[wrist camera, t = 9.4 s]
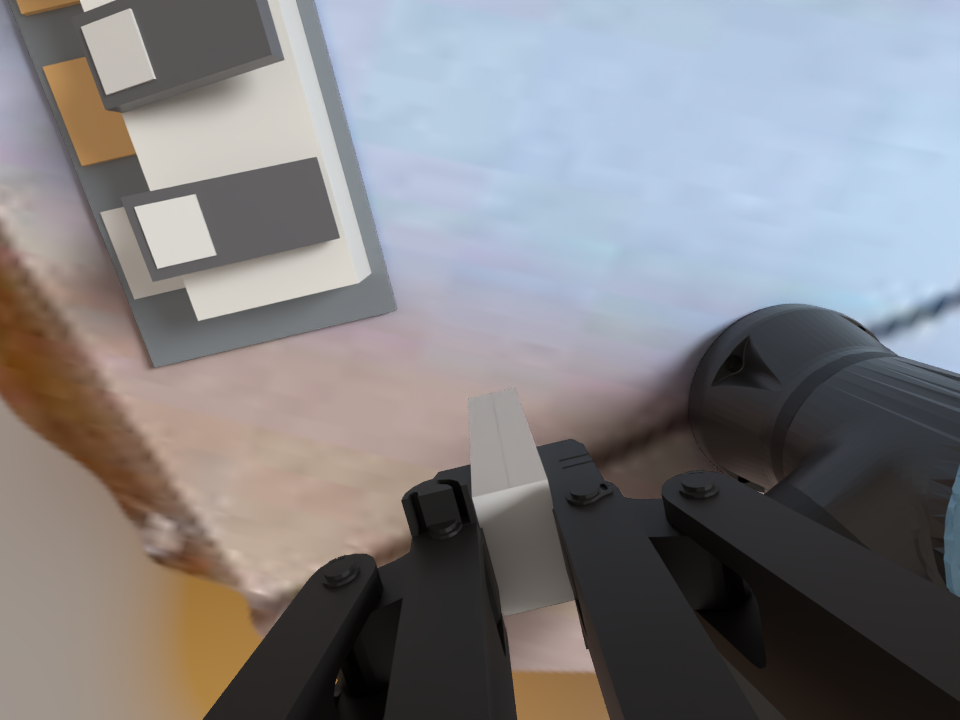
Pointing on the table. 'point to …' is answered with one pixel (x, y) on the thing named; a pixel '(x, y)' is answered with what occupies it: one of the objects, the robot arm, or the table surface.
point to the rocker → (231, 218)
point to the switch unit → (209, 154)
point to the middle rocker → (172, 46)
